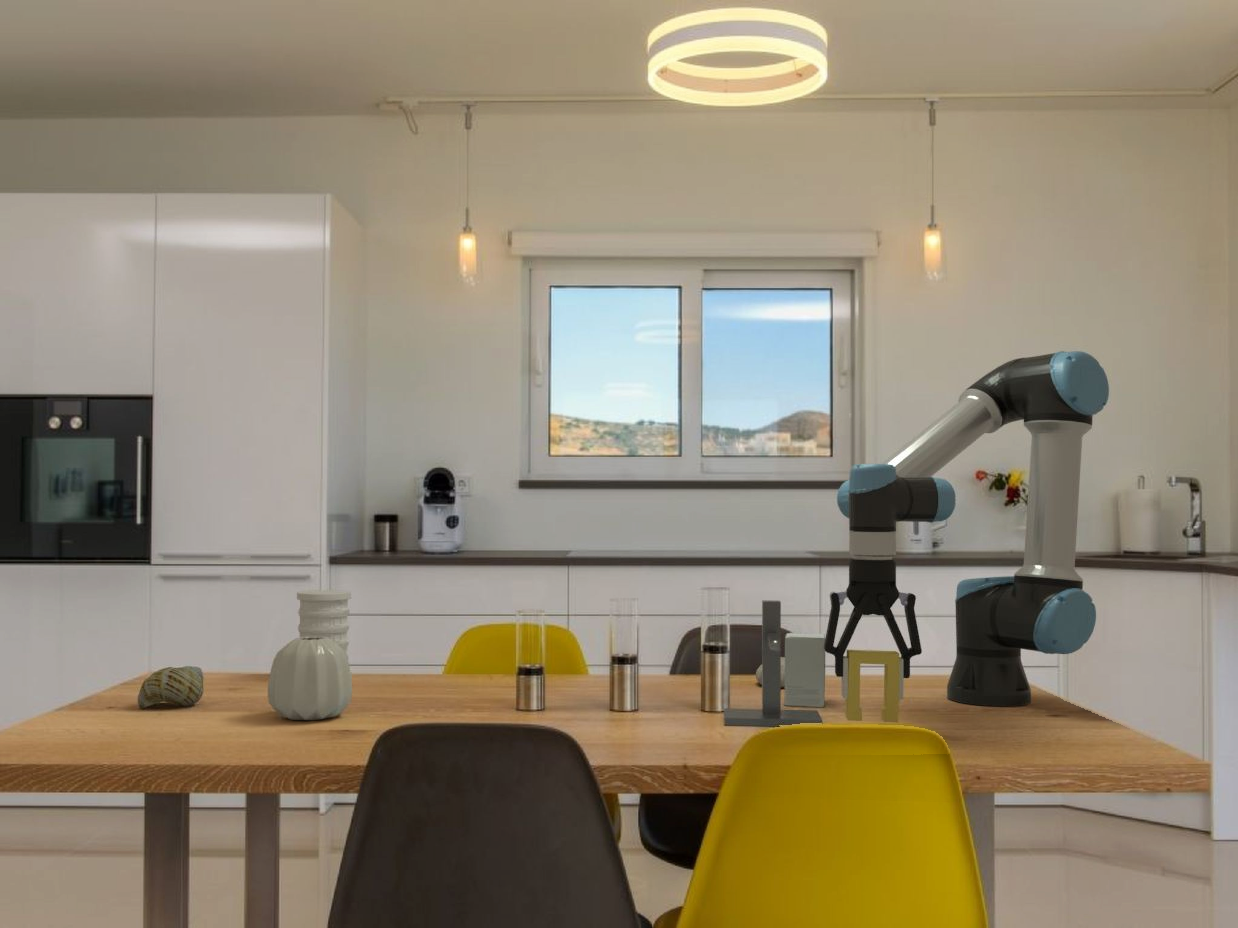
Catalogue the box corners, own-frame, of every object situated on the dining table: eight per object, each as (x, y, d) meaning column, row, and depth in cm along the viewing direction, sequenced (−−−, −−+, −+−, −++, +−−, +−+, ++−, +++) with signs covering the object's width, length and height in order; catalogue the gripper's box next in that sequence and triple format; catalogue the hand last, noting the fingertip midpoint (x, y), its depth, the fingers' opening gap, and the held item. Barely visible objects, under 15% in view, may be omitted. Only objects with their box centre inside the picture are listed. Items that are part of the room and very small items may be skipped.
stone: (790, 703, 237) (773, 669, 241) (826, 679, 232) (808, 645, 236) (757, 705, 227) (740, 669, 231) (794, 680, 223) (776, 645, 226)
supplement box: (824, 707, 205) (825, 637, 206) (783, 705, 207) (783, 636, 207) (825, 700, 213) (825, 633, 213) (785, 699, 214) (786, 631, 214)
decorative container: (307, 674, 240) (308, 589, 241) (359, 676, 239) (361, 590, 239) (283, 683, 229) (285, 593, 229) (338, 684, 227) (340, 594, 228)
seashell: (122, 703, 201) (147, 650, 205) (168, 722, 207) (191, 670, 211) (152, 707, 194) (177, 652, 198) (198, 726, 201) (221, 672, 205)
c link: (894, 718, 186) (895, 651, 187) (898, 722, 183) (899, 653, 183) (845, 716, 187) (846, 649, 187) (848, 720, 184) (849, 651, 184)
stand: (817, 717, 196) (817, 600, 196) (826, 736, 179) (826, 609, 180) (724, 715, 197) (724, 599, 198) (725, 734, 181) (725, 607, 181)
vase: (263, 712, 196) (265, 635, 197) (345, 707, 202) (346, 632, 202) (272, 727, 184) (274, 644, 184) (359, 721, 189) (360, 640, 190)
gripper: (933, 557, 189) (933, 695, 188) (806, 556, 191) (805, 692, 190) (942, 559, 181) (942, 702, 181) (809, 558, 183) (809, 699, 182)
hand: (872, 697), depth 185 cm, fingers closed on c link, 8 cm apart
